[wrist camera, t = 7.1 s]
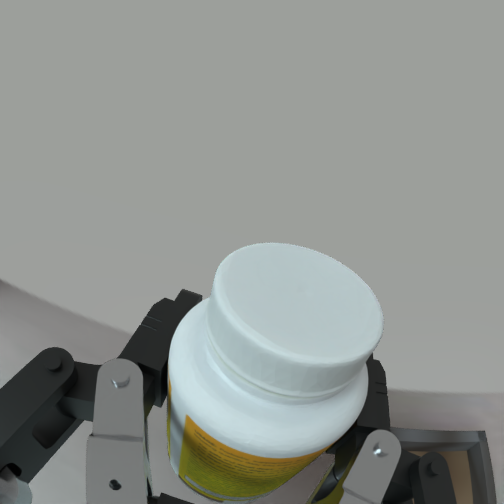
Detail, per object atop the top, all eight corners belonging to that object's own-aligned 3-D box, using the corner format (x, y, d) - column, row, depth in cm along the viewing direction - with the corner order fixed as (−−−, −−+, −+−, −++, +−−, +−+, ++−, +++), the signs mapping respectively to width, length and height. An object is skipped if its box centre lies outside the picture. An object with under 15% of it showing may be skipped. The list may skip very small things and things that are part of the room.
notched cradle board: (339, 580, 8) (362, 580, 7) (353, 434, 18) (370, 418, 16) (481, 551, 7) (506, 542, 6) (471, 440, 17) (490, 425, 15)
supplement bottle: (305, 479, 11) (453, 345, 6) (194, 521, 9) (245, 456, 3) (254, 392, 15) (326, 223, 10) (152, 417, 13) (149, 228, 7)
